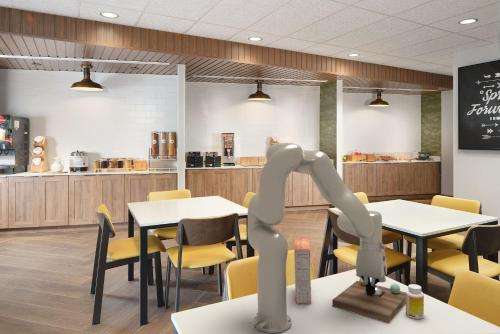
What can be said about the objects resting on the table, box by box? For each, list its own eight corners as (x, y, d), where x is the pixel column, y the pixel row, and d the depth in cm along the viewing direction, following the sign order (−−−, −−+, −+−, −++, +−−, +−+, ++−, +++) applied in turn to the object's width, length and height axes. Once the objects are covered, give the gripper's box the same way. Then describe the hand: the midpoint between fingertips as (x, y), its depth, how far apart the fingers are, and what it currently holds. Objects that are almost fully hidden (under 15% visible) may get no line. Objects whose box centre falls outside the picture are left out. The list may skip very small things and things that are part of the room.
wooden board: (388, 323, 116) (388, 316, 116) (332, 306, 129) (332, 299, 129) (408, 299, 133) (408, 293, 133) (357, 286, 146) (357, 280, 145)
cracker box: (295, 288, 145) (294, 238, 144) (310, 288, 144) (309, 238, 143) (294, 303, 131) (294, 248, 130) (311, 304, 131) (310, 248, 129)
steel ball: (384, 294, 135) (381, 303, 132) (372, 291, 138) (369, 300, 135) (382, 285, 133) (379, 294, 130) (370, 283, 136) (366, 292, 133)
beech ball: (366, 287, 138) (366, 279, 138) (357, 285, 140) (357, 277, 140) (369, 284, 141) (369, 276, 141) (361, 282, 143) (361, 274, 143)
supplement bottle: (427, 318, 119) (427, 288, 118) (412, 320, 117) (413, 290, 117) (416, 310, 124) (416, 282, 123) (402, 312, 123) (402, 284, 122)
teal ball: (398, 295, 131) (398, 286, 130) (388, 293, 133) (388, 284, 132) (401, 292, 133) (401, 283, 133) (391, 290, 135) (391, 281, 135)
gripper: (395, 246, 127) (395, 296, 128) (355, 239, 137) (355, 286, 138) (388, 251, 121) (387, 304, 123) (346, 244, 131) (346, 293, 132)
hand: (370, 294), depth 130 cm, fingers closed
